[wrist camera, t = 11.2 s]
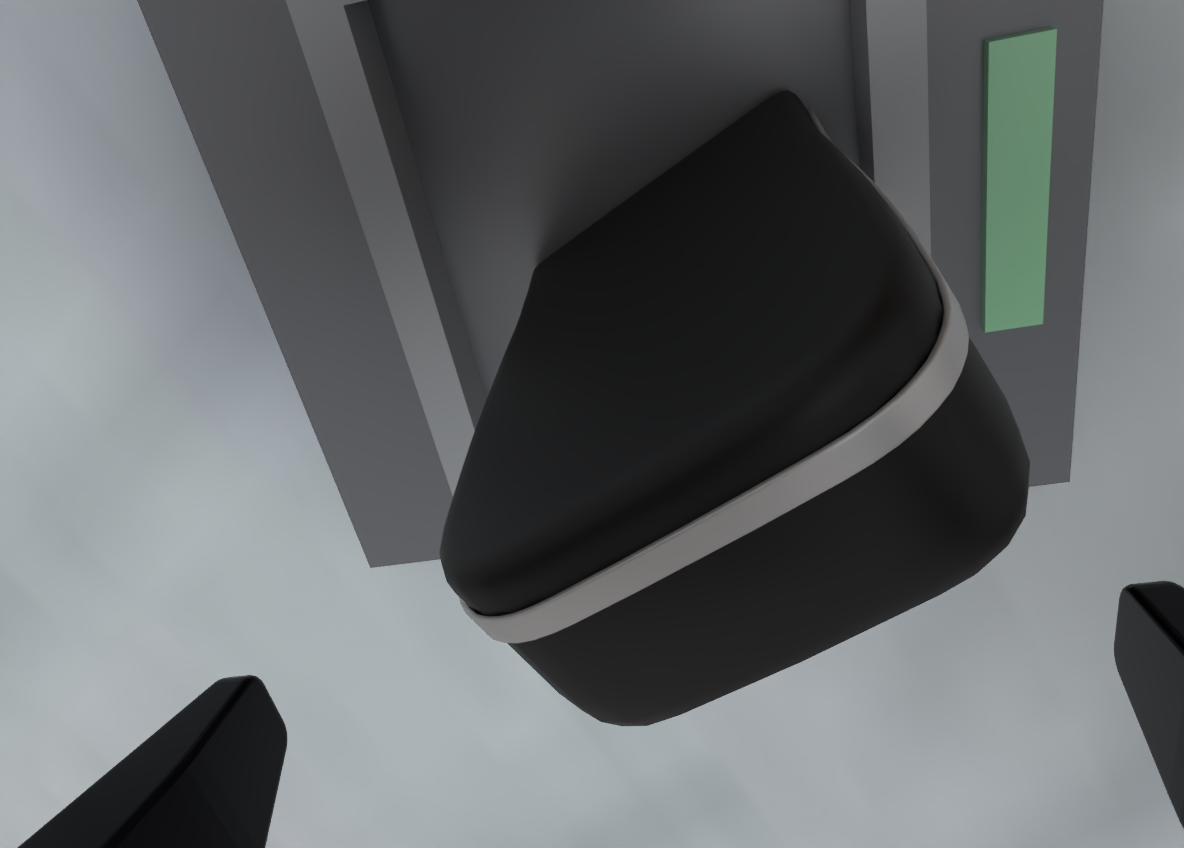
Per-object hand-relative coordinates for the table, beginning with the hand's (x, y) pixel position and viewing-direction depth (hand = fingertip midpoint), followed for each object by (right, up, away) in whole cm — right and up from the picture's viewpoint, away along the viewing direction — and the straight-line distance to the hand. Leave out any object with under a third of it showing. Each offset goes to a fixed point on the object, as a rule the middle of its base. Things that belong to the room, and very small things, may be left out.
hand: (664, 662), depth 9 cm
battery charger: (+2, +6, +10) cm, 12 cm away
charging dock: (+1, +7, +11) cm, 13 cm away
